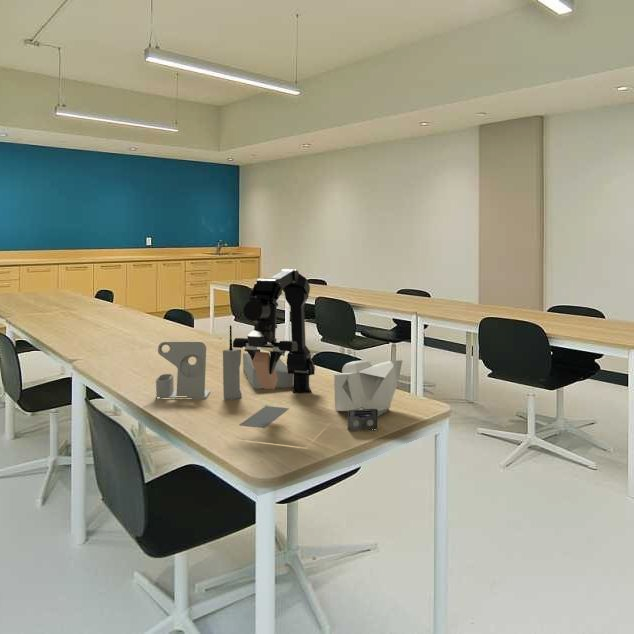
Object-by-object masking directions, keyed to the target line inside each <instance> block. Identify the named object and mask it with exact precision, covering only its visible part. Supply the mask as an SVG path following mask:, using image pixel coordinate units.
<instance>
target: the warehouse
mask: <svg viewBox="0 0 634 634" xmlns="http://www.w3.org/2000/svg"><path fill="white" fill-rule="evenodd" d="M242 354H243V355H242V364H243V366H242V370H244V371H245V372H244V371H243V372H244V374H245V373H246V374H245V376H246V375H247V376H246V377H248V378H247V379H248V381H249V382H250V385H251V386H252V388H253V390H260V389H261V388H262V387H261V384H260V382H259V379H258V376H257V374H256V372H255V369H254V366H253V363H252V359H251V357H250V355H249V353H244V352H243V353H242ZM270 357H271V356H270ZM283 361H284V360H282V359H281V357H280V358H279V360H278V362H277V364H276V366H275V368H274V369H275V372H276V375H277V377H278V380H277V383H276V386H275V387H281V388H289V387H288V386H293V374H288V369H287V364H286V363H285V362H283Z"/></svg>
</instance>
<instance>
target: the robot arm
mask: <svg viewBox="0 0 634 634" xmlns="http://www.w3.org/2000/svg"><path fill="white" fill-rule="evenodd" d="M310 289H311V286H310V283H309V281H308V279H307V278H306V277H305V276H303V275H302V274H301V273H300V272H299V270H298V269H295V268H283V269H281V270H280V272H278V273H276V274H274V275H273V276H271V277H263V278H258V279H256V282H255V283H254V285H253V288H252V291H251V293H250V295H249V301H248V302H246V304H245V305H244V307H243V315H244V317H245V318H246V319H247V320H249V321H252V322H254V321H255V322H256V323H255V324H254V327H253V330H252V331H250V332H249V333H248V334H247V336H246V337H235V338H234V339H233V340H232V348H236V349H243V348H245V349H243V351H244V352H247V354H249V355H250V357H251V359H252V361H253V358H254V356H255V354H256V352H261V349H260V348H265V349H266V348H268V349H272V350H270V351H269V354H270V356H271V358H270V368H269V374H272V373H273V370H274V368H275V366H276V364H277V362H278V360H279V358H280V359H281V356H282V354H286V352H287V355H286V366H287V369H288V374H293V387H291V391H292V393H312V389H311V387H310V376H312V375H313V376H314V375H315V373H316V372H315V370H316V366H315V364H314V362H313V359H312V356H311V351H310V350H309V348H308V347H307V345H306V325H305V324H306V323H305V305H306V302H307V300H308V299H309V295H310V291H311V290H310ZM282 293H284V297H285V298H284V299H285V300H286V302H287V303H288V305H289V307H290V308H289V309H290V328H291V331H290V332H291V340H280V341H279V342H277V340H278V339H277V338H276V329H278V324H277V309H278V308H277V307H279V303H278V300H279V298H280V296H281V295H282ZM255 372H256V371H255Z"/></svg>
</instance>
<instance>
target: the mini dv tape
mask: <svg viewBox="0 0 634 634" xmlns="http://www.w3.org/2000/svg"><path fill="white" fill-rule="evenodd" d="M378 418H379V417H378V410H377V409H362V408H361V409H358V410H348V411H347V431H348V430H349V431H348V432H358V431H357V430H371V431H375V430H374V429H377V430H378V421H379V420H378ZM372 429H373V430H372Z"/></svg>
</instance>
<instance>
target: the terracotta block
mask: <svg viewBox="0 0 634 634" xmlns="http://www.w3.org/2000/svg"><path fill="white" fill-rule="evenodd" d="M270 358H271V357H270V352H264V351H260V352H256V354H255V356H254V358H253V361H252V363H253V366H254V369H255V371H256V374H257V376H258V379H259V382H260V384H261V387H262V388H264V389H269V390H275V389H276V388H275V386H276V383H277V380H278V377H277V375H276V372H275V369H274V370H273V373H272V374H269V368H270Z"/></svg>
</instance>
